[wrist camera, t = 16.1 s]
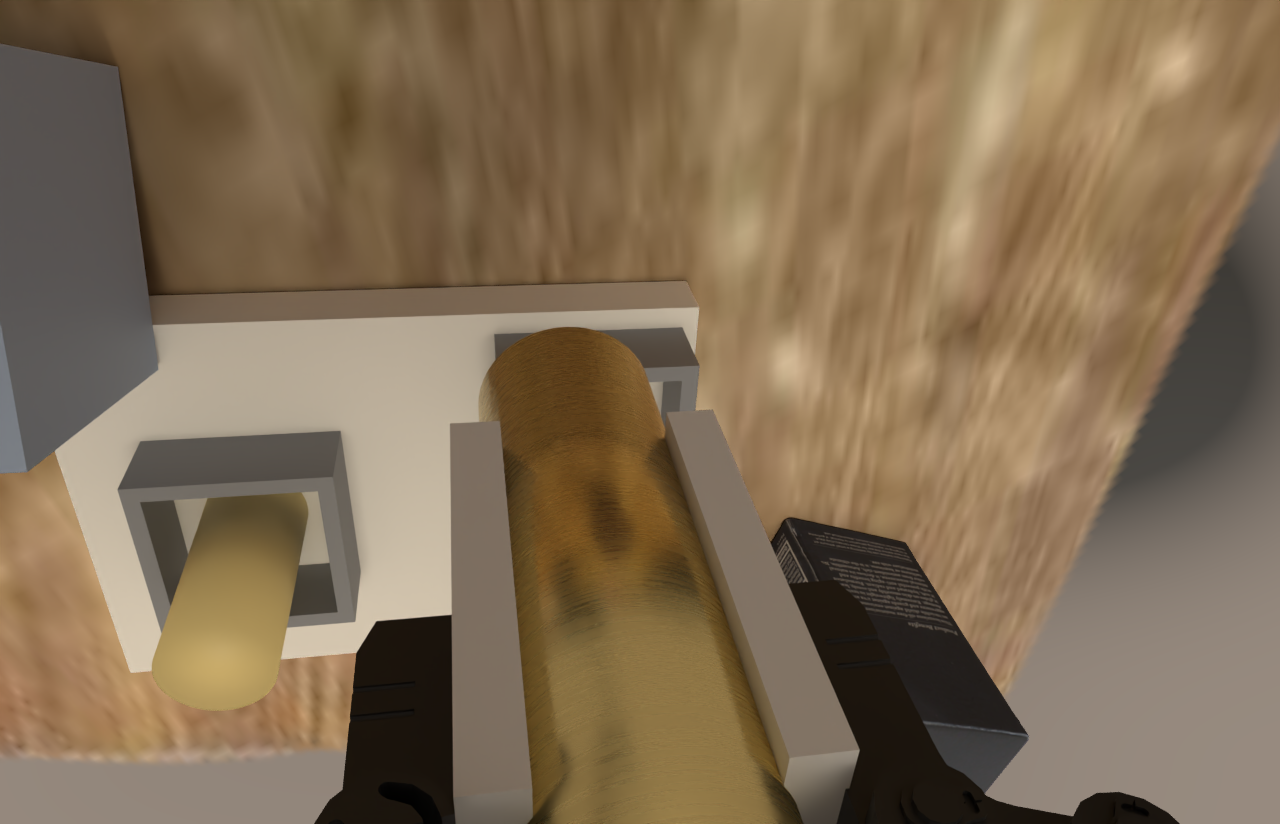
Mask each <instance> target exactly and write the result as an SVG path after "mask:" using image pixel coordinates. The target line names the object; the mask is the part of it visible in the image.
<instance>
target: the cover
mask: <svg viewBox="0 0 1280 824" xmlns="http://www.w3.org/2000/svg"><path fill="white" fill-rule="evenodd" d="M156 371H158V362H157V355H156V347H155V340H154V332H153V325H152V317H151V310H150V302H149V295H148V287H147V280H146V272H145V265H144V258H143V250H142V243H141V235H140V228H139V220H138V213H137V205H136V198H135V190H134V183H133V175H132V168H131V160H130V153H129V146H128V138H127V131H126V123H125V116H124V108H123V101H122V93H121V86H120V78H119V71H118V67H116V66H111V65H106V64H101V63H96V62H91V61H86V60H81V59H76V58H71V57H66V56H61V55H56V54H51V53H46V52H41V51H36V50H30V49H25V48H20V47H15V46H10V45H5V44H0V473H18V472H28V471H29V470H30V469H32V468H33V467H34V466H36V465H37V464H38V463H39V462H41V461H42V460H43V459H45V458H46V457H47V456H48V455H50V454H51V453H52V452H54V451H55V450H56V449H57V448H59V447H60V446H61V445H63V444H64V443H65V442H66V441H68V440H69V439H70V438H72V437H73V436H74V435H75V434H77V433H78V432H79V431H81V430H82V429H83V428H84V427H86V426H87V425H88V424H89V423H91V422H92V421H93V420H95V419H96V418H97V417H98V416H100V415H101V414H102V413H104V412H105V411H106V410H107V409H109V408H110V407H111V406H113V405H114V404H115V403H116V402H118V401H119V400H120V399H122V398H123V397H124V396H125V395H127V394H128V393H129V392H131V391H132V390H133V389H134V388H136V387H137V386H138V385H140V384H141V383H142V382H143V381H145V380H146V379H147V378H149V377H150V376H151V375H152V374H154V373H155V372H156Z"/></svg>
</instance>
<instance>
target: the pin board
mask: <svg viewBox="0 0 1280 824" xmlns="http://www.w3.org/2000/svg"><path fill="white" fill-rule="evenodd" d="M149 302H150V310H151V317H152V325H153V332H154V340H155V347H156V355H157V362H158V371H156V372H155V373H154V374H152V375H151V376H150V377H149V378H147V379H146V380H145V381H143V382H142V383H141V384H140V385H138V386H137V387H136V388H134V389H133V390H132V391H131V392H129V393H128V394H127V395H125V396H124V397H123V398H122V399H120V400H119V401H118V402H116V403H115V404H114V405H113V406H111V407H110V408H109V409H107V410H106V411H105V412H104V413H102V414H101V415H100V416H98V417H97V418H96V419H95V420H93V421H92V422H91V423H89V424H88V425H87V426H86V427H84V428H83V429H82V430H81V431H79V432H78V433H77V434H75V435H74V436H73V437H72V438H70V439H69V440H68V441H66V442H65V443H64V444H63V445H61V446H60V447H59V448H57V449H56V450H55V454H56V457H57V459H58V462H59V465H60V468H61V471H62V474H63V477H64V480H65V483H66V486H67V489H68V492H69V495H70V497H71V500H72V503H73V506H74V509H75V512H76V515H77V518H78V521H79V524H80V527H81V530H82V532H83V535H84V538H85V541H86V544H87V547H88V550H89V553H90V556H91V559H92V562H93V565H94V568H95V570H96V573H97V576H98V579H99V582H100V585H101V588H102V591H103V594H104V597H105V600H106V603H107V605H108V608H109V611H110V614H111V617H112V620H113V623H114V626H115V629H116V632H117V635H118V638H119V641H120V643H121V646H122V649H123V652H124V655H125V658H126V661H127V664H128V667H129V670H130V673H135V672H146V671H152V674H153V678H154V680H155V682H156V683H157V685H158V687H159V688H160V689H161V690H162V691H163V692H164V693H165V694H166V695H168V696H169V697H171V698H172V699H174V700H176V701H177V702H179V703H182V704H184V705H187V706H190V707H193V708H198V709H203V710H215V711H221V710H232V709H237V708H241V707H244V706H247V705H250V704H252V703H254V702H256V701H258V700H260V699H261V698H263V697H264V696H265V695H266V694H267V693H268V692H269V691H270V690H271V689H272V688H273V686H274V684H275V682H276V680H277V676H278V672H279V666H280V661H281V659H291V658H302V657H313V656H325V655H336V654H347V653H357V651H358V650H359V648H360V646H361V645H362V643H363V642H364V640H365V638H366V637H367V635H368V634H369V632H370V630H371V629H372V627H373V626H374V624H375V622H376V621H384V620H395V619H407V618H419V617H430V616H442V615H452V595H451V484H450V423H469V422H479V410H478V402H479V393H480V388H481V385H482V382H483V379H484V377H485V375H486V373H487V371H488V370H489V368H490V367H491V365H492V364H493V362H494V361H495V360H496V359H497V358H498V357H499V356H500V354H501V353H503V352H504V351H505V350H506V349H507V348H508V347H510V346H511V345H513V344H514V343H516V342H517V341H519V340H520V339H522V338H524V337H527V336H529V335H531V334H533V333H536V332H539V331H542V330H547V329H551V328H558V327H581V328H588V329H592V330H596V331H600V332H602V333H605V334H607V335H610V336H612V337H613V338H615V339H617V340H619V341H620V342H621V343H623V344H624V345H625V346H627V347H628V348H629V349H630V350H631V351H632V352H633V353H634V354H635V355H636V357H637V358H638V359H639V361H640V362H641V364H642V366H643V368H644V370H645V372H646V375H647V378H648V381H649V384H650V387H651V389H652V392H653V395H654V398H655V401H656V404H657V407H658V409H659V412H660V415H661V418H662V421H663V424H664V427H665V425H666V412H679V411H695V408H696V397H697V386H698V376H699V364H698V361H697V359H696V357H695V349H696V338H697V327H698V316H699V306H698V304H697V302H696V300H695V298H694V296H693V294H692V292H691V290H690V287H689V285H688V283H687V281H662V282H626V283H590V284H553V285H517V286H481V287H445V288H409V289H373V290H337V291H301V292H265V293H229V294H193V295H157V296H149Z"/></svg>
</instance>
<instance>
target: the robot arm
mask: <svg viewBox="0 0 1280 824" xmlns="http://www.w3.org/2000/svg"><path fill="white" fill-rule="evenodd" d="M665 441H666V443H667V446H668V449H669V452H670V455H671V458H672V461H673V464H674V467H675V470H676V473H677V476H678V479H679V481H680V484H681V487H682V490H683V493H684V496H685V499H686V502H687V505H688V508H689V511H690V514H691V517H692V519H693V522H694V525H695V528H696V531H697V534H698V537H699V540H700V543H701V546H702V549H703V552H704V554H705V557H706V560H707V563H708V566H709V569H710V572H711V575H712V578H713V581H714V584H715V587H716V590H717V592H718V595H719V598H720V601H721V604H722V607H723V610H724V613H725V616H726V619H727V622H728V625H729V628H730V630H731V633H732V636H733V639H734V642H735V645H736V648H737V651H738V654H739V657H740V660H741V663H742V665H743V668H744V671H745V674H746V677H747V680H748V683H749V686H750V689H751V692H752V695H753V698H754V701H755V703H756V706H757V709H758V712H759V715H760V718H761V721H762V724H763V727H764V730H765V733H766V736H767V739H768V741H769V744H770V747H771V750H772V753H773V756H774V759H775V762H776V765H777V768H778V771H779V774H780V776H781V779H782V782H783V785H784V787H785V788H786V789H787V790H788V791H789V792H790V794H791V795H792V797H793V798H794V800H795V802H796V804H797V807H798V810H799V813H800V815H801V818H802V821H803V824H1179V823H1178V822H1177V821H1176V820H1175V819H1174V818H1173V817H1172V816H1171V815H1170V814H1169V813H1167V812H1166V811H1164V810H1162V809H1160V808H1158V807H1157V806H1155V805H1153V804H1152V803H1150V802H1148V801H1146V800H1144V799H1142V798H1138V797H1135V796H1131V795H1127V794H1124V793H1120V792H1113V793H1112V792H1110V793H1096V794H1094V795H1093V796H1091V797H1089V798H1087V799H1085V800H1083V801H1082V802H1080V805H1079V806H1078V808H1077V810H1076V812H1075V814H1074V816H1067V815H1061V814H1056V813H1051V812H1045V811H1040V810H1034V809H1029V808H1023V807H1018V806H1013V805H1010V804H1006V803H1003V802H999V801H996V800H994V799H992V798H990V797H987V796H986V795H985V794H984V792H983V790H982V789H981V788H980V787H979V786H977V785H976V784H975V783H974V782H973V781H972V780H971V779H970V778H968V777H967V776H966V775H965V774H964V773H962V772H960V771H958V770H956V769H954V768H952V767H950V766H948V765H947V764H946V763H945V761H944V759H943V758H942V756H941V755H940V753H939V752H938V750H937V748H936V746H935V744H934V742H933V740H932V738H931V736H930V734H929V732H928V730H927V728H926V727H925V725H924V723H923V721H922V719H921V717H920V715H919V713H918V711H917V709H916V707H915V705H914V703H913V701H912V699H911V697H910V695H909V693H908V691H907V690H906V688H905V686H904V684H903V682H902V680H901V678H900V676H899V674H898V672H897V670H896V668H895V666H894V665H891V661H890V659H891V658H890V656H889V654H888V653H887V651H886V649H885V647H884V645H883V643H882V641H881V640H879V639H878V633H877V631H876V629H875V627H874V625H873V623H872V621H871V619H870V617H869V616H868V614H867V612H866V610H865V608H864V606H863V604H862V603H861V602H859V601H858V600H857V599H856V598H855V597H854V596H853V595H852V594H851V593H850V592H848V591H847V590H846V589H845V588H844V587H843V586H842V585H841V584H840V583H839V582H837V581H836V580H826V581H814V582H802V583H790V584H788V583H787V580H786V578H785V576H784V573H783V571H782V569H781V567H780V564H779V562H778V560H777V557H776V555H775V553H774V550H773V548H772V546H771V543H770V541H769V539H768V536H767V534H766V532H765V530H764V527H763V525H762V523H761V520H760V518H759V516H758V513H757V511H756V509H755V506H754V504H753V502H752V499H751V497H750V495H749V493H748V490H747V488H746V486H745V483H744V481H743V479H742V476H741V474H740V472H739V469H738V467H737V465H736V462H735V460H734V458H733V456H732V453H731V451H730V449H729V446H728V444H727V442H726V439H725V437H724V435H723V432H722V430H721V428H720V425H719V423H718V421H717V419H716V416H715V414H714V412H713V410H699V411H679V412H666V425H665ZM450 484H451V595H452V615H442V616H430V617H419V618H407V619H395V620H384V621H376V622H375V624H374V626H373V627H372V629H371V630H370V632H369V634H368V635H367V637H366V638H365V640H364V642H363V643H362V645H361V646H360V648H359V650H358V651H357V653H356V663H355V673H354V683H353V694H352V702H351V712H350V723H349V732H348V742H347V752H346V762H345V771H344V782H343V790H342V791H341V792H339V793H338V794H337V795H336V796H334V797H333V798H332V799H330V800H329V802H328V803H327V805H326V806H325V808H324V809H323V811H322V813H321V814H320V815H319V817H318V819H317V820H316V822H315V823H314V824H527V823H528V822H529V821H530V820H531V819H532V818H533V801H532V780H531V768H530V757H529V746H528V734H527V723H526V712H525V700H524V689H523V678H522V666H521V655H520V644H519V632H518V621H517V610H516V598H515V587H514V576H513V564H512V553H511V542H510V530H509V519H508V508H507V496H506V485H505V473H504V462H503V451H502V439H501V428H500V421H488V422H469V423H450Z"/></svg>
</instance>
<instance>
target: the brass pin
mask: <svg viewBox="0 0 1280 824" xmlns="http://www.w3.org/2000/svg"><path fill="white" fill-rule="evenodd" d="M478 410H479V422H488V421H500V428H501V439H502V451H503V462H504V473H505V485H506V496H507V508H508V519H509V530H510V542H511V553H512V564H513V576H514V587H515V598H516V610H517V621H518V632H519V644H520V655H521V666H522V678H523V689H524V700H525V712H526V723H527V734H528V746H529V757H530V768H531V780H532V801H533V818H532V819H531V820H530V821H529V822H528V823H527V824H803V821H802V818H801V815H800V813H799V810H798V807H797V804H796V802H795V800H794V798H793V797H792V795H791V794H790V792H789V791H788V790H787V789H786V788H785V787H784V785H783V782H782V779H781V776H780V774H779V771H778V768H777V765H776V762H775V759H774V756H773V753H772V750H771V747H770V744H769V741H768V739H767V736H766V733H765V730H764V727H763V724H762V721H761V718H760V715H759V712H758V709H757V706H756V703H755V701H754V698H753V695H752V692H751V689H750V686H749V683H748V680H747V677H746V674H745V671H744V668H743V665H742V663H741V660H740V657H739V654H738V651H737V648H736V645H735V642H734V639H733V636H732V633H731V630H730V628H729V625H728V622H727V619H726V616H725V613H724V610H723V607H722V604H721V601H720V598H719V595H718V592H717V590H716V587H715V584H714V581H713V578H712V575H711V572H710V569H709V566H708V563H707V560H706V557H705V554H704V552H703V549H702V546H701V543H700V540H699V537H698V534H697V531H696V528H695V525H694V522H693V519H692V517H691V514H690V511H689V508H688V505H687V502H686V499H685V496H684V493H683V490H682V487H681V484H680V481H679V479H678V476H677V473H676V470H675V467H674V464H673V461H672V458H671V455H670V452H669V449H668V446H667V443H666V441H665V427H664V424H663V421H662V418H661V415H660V412H659V409H658V407H657V404H656V401H655V398H654V395H653V392H652V389H651V387H650V384H649V381H648V378H647V375H646V372H645V370H644V368H643V366H642V364H641V362H640V361H639V359H638V358H637V357H636V355H635V354H634V353H633V352H632V351H631V350H630V349H629V348H628V347H627V346H625V345H624V344H623V343H621V342H620V341H619V340H617V339H615V338H613V337H612V336H610V335H607V334H605V333H602V332H600V331H596V330H592V329H588V328H581V327H558V328H551V329H547V330H542V331H539V332H536V333H533V334H531V335H529V336H527V337H524V338H522V339H520V340H519V341H517V342H516V343H514V344H513V345H511V346H510V347H508V348H507V349H506V350H505V351H504V352H503V353H501V354H500V356H499V357H498V358H497V359H496V360H495V361H494V362H493V364H492V365H491V367H490V368H489V370H488V371H487V373H486V375H485V377H484V379H483V382H482V385H481V388H480V393H479V402H478Z"/></svg>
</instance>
